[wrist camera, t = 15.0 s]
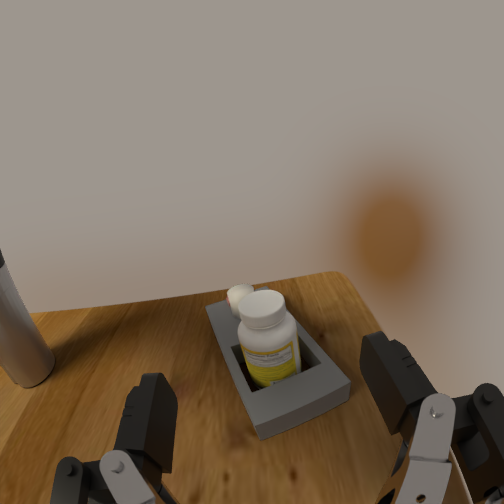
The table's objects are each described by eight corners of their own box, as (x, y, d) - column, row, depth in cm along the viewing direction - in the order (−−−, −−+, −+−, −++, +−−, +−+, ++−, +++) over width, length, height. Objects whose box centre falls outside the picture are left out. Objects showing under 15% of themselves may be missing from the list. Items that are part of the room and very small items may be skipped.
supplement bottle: (266, 352, 30) (251, 281, 26) (309, 363, 27) (303, 289, 23) (241, 385, 26) (217, 314, 22) (288, 401, 23) (275, 328, 19)
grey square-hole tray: (260, 440, 19) (247, 407, 17) (210, 323, 37) (199, 287, 35) (348, 399, 22) (353, 359, 19) (269, 303, 39) (262, 267, 37)
